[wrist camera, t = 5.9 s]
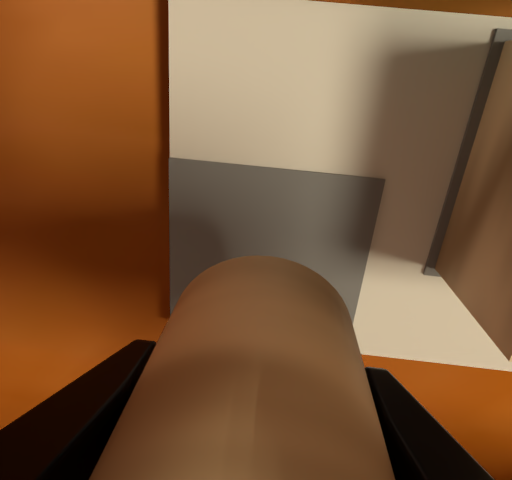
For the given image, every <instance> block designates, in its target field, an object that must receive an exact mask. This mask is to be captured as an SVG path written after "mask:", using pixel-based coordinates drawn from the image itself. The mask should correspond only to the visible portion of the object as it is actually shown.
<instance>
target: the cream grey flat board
mask: <svg viewBox="0 0 512 480" xmlns="http://www.w3.org/2000/svg"><path fill="white" fill-rule="evenodd" d="M168 6H169V129H170V157H169V245H170V316H171V314H172V312H173V310H174V308H175V306H176V304H177V302H178V300H179V298H180V296H181V294H182V293H183V291H184V290H185V288H186V287H187V286H188V285H189V284H190V282H191V281H192V280H193V279H195V278H196V277H197V276H198V275H199V274H200V273H202V272H204V271H205V270H207V269H208V268H210V267H212V266H214V265H216V264H218V263H220V262H223V261H226V260H230V259H233V258H238V257H243V256H256V255H258V256H273V257H278V258H284V259H287V260H290V261H294V262H297V263H299V264H301V265H304V266H306V267H308V268H310V269H311V270H313V271H315V272H316V273H318V274H319V275H321V276H322V277H323V278H324V279H326V280H327V281H328V282H329V283H330V284H331V285H332V286H333V287H334V288H335V289H336V290H337V292H338V293H339V295H340V296H341V297H342V299H343V301H344V302H345V304H346V306H347V308H348V311H349V314H350V317H351V320H352V324H353V328H354V331H355V335H356V339H357V342H358V346H359V349H360V353H361V354H365V355H374V356H383V357H391V358H400V359H408V360H417V361H426V362H434V363H443V364H452V365H460V366H469V367H477V368H486V369H495V370H503V371H512V362H509V361H508V360H507V358H506V357H505V356H504V355H503V353H502V352H501V351H500V350H499V348H498V347H497V346H496V345H495V343H494V342H493V341H492V340H491V338H490V337H489V336H488V335H487V333H486V332H485V331H484V330H483V328H482V327H481V326H480V325H479V323H478V322H477V321H476V320H475V318H474V317H473V316H472V315H471V313H470V312H469V311H468V310H467V308H466V307H465V306H464V305H463V303H462V302H461V301H460V300H459V298H458V297H457V296H456V295H455V293H454V292H453V291H452V290H451V288H450V287H449V286H448V285H447V283H446V282H445V281H444V280H443V278H442V277H441V276H440V275H439V273H438V272H437V271H436V270H435V266H436V263H437V259H438V256H439V253H440V250H441V247H442V243H443V240H444V237H445V234H446V230H447V227H448V224H449V221H450V217H451V214H452V211H453V208H454V205H455V201H456V198H457V195H458V192H459V188H460V185H461V182H462V179H463V175H464V172H465V169H466V166H467V163H468V159H469V156H470V153H471V150H472V146H473V143H474V140H475V137H476V133H477V130H478V127H479V124H480V121H481V117H482V114H483V111H484V108H485V104H486V101H487V98H488V95H489V91H490V88H491V85H492V82H493V79H494V75H495V72H496V69H497V66H498V62H499V59H500V56H501V53H502V49H503V46H504V43H505V41H510V40H512V18H511V17H499V16H487V15H476V14H464V13H452V12H440V11H428V10H416V9H404V8H392V7H380V6H368V5H356V4H344V3H332V2H320V1H308V0H168Z"/></svg>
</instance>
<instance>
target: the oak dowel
mask: <svg viewBox="0 0 512 480" xmlns="http://www.w3.org/2000/svg"><path fill="white" fill-rule="evenodd" d="M89 480H395V477H394V473H393V469H392V466H391V462H390V458H389V455H388V451H387V448H386V444H385V440H384V437H383V433H382V429H381V426H380V422H379V418H378V415H377V411H376V408H375V404H374V400H373V397H372V393H371V389H370V386H369V382H368V379H367V375H366V371H365V368H364V364H363V360H362V357H361V353H360V349H359V346H358V342H357V339H356V335H355V331H354V328H353V324H352V320H351V317H350V314H349V311H348V308H347V306H346V304H345V302H344V301H343V299H342V297H341V296H340V295H339V293H338V292H337V290H336V289H335V288H334V287H333V286H332V285H331V284H330V283H329V282H328V281H327V280H326V279H324V278H323V277H322V276H321V275H319V274H318V273H316V272H315V271H313V270H311V269H310V268H308V267H306V266H304V265H301V264H299V263H297V262H294V261H290V260H287V259H284V258H278V257H273V256H258V255H256V256H243V257H238V258H233V259H230V260H226V261H223V262H220V263H218V264H216V265H214V266H212V267H210V268H208V269H207V270H205V271H204V272H202V273H200V274H199V275H198V276H197V277H196V278H195V279H193V280H192V281H191V282H190V284H189V285H188V286H187V287H186V288H185V290H184V291H183V293H182V294H181V296H180V298H179V300H178V302H177V304H176V306H175V308H174V310H173V312H172V314H171V316H170V318H169V320H168V322H167V324H166V326H165V328H164V330H163V332H162V334H161V336H160V338H159V340H158V342H157V344H156V346H155V348H154V350H153V352H152V354H151V356H150V358H149V360H148V362H147V364H146V366H145V368H144V370H143V372H142V374H141V376H140V378H139V380H138V382H137V384H136V386H135V388H134V390H133V392H132V394H131V396H130V398H129V400H128V402H127V404H126V406H125V408H124V410H123V412H122V414H121V416H120V418H119V420H118V422H117V424H116V426H115V428H114V430H113V432H112V434H111V436H110V438H109V440H108V442H107V444H106V446H105V448H104V450H103V452H102V454H101V456H100V458H99V460H98V462H97V464H96V466H95V468H94V470H93V472H92V474H91V476H90V478H89Z"/></svg>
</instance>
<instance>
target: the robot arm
mask: <svg viewBox="0 0 512 480" xmlns="http://www.w3.org/2000/svg"><path fill="white" fill-rule="evenodd" d="M156 344H157V343H156V342H154V341H147V340H135V341H133V342H131V343H130V344H128V345H127V346H125V347H124V348H122V349H121V350H119V351H118V352H116V353H115V354H113V355H112V356H110V357H109V358H107V359H106V360H104V361H103V362H101V363H100V364H98V365H97V366H95V367H94V368H92V369H91V370H89V371H88V372H86V373H85V374H83V375H82V376H80V377H79V378H77V379H76V380H74V381H73V382H71V383H70V384H68V385H67V386H65V387H64V388H62V389H61V390H59V391H58V392H56V393H55V394H53V395H52V396H50V397H49V398H47V399H46V400H44V401H43V402H42V403H40V404H39V405H37V406H36V407H34V408H33V409H31V410H30V411H28V412H27V413H25V414H24V415H22V416H21V417H19V418H18V419H16V420H15V421H13V422H12V423H10V424H9V425H7V426H6V427H4V428H3V429H1V430H0V480H89V478H90V476H91V474H92V472H93V470H94V468H95V466H96V464H97V462H98V460H99V458H100V456H101V454H102V452H103V450H104V448H105V446H106V444H107V442H108V440H109V438H110V436H111V434H112V432H113V430H114V428H115V426H116V424H117V422H118V420H119V418H120V416H121V414H122V412H123V410H124V408H125V406H126V404H127V402H128V400H129V398H130V396H131V394H132V392H133V390H134V388H135V386H136V384H137V382H138V380H139V378H140V376H141V374H142V372H143V370H144V368H145V366H146V364H147V362H148V360H149V358H150V356H151V354H152V352H153V350H154V348H155V346H156ZM365 371H366V375H367V379H368V382H369V386H370V389H371V393H372V397H373V400H374V404H375V408H376V411H377V415H378V418H379V422H380V426H381V429H382V433H383V437H384V440H385V444H386V448H387V451H388V455H389V458H390V462H391V466H392V469H393V473H394V477H395V480H495V479H494V478H493V477H492V476H491V475H490V474H489V473H488V472H487V471H486V470H485V469H484V468H483V467H482V466H481V465H480V464H479V463H478V462H477V461H476V460H475V459H474V458H473V457H472V456H471V455H470V454H469V453H468V452H467V451H466V450H465V449H464V448H463V447H462V446H461V445H460V444H459V443H458V442H457V441H456V440H455V439H454V438H453V437H452V436H451V434H450V433H449V432H448V431H447V430H446V429H445V428H444V427H443V426H442V425H441V424H440V423H439V422H438V421H437V420H436V419H435V418H434V417H433V416H432V415H431V414H430V413H429V412H428V411H427V410H426V409H425V408H424V407H423V406H422V405H421V404H420V403H419V402H418V401H417V400H416V399H415V398H414V397H413V396H412V395H411V394H410V393H409V392H408V391H407V390H406V389H405V388H404V387H403V385H402V384H401V383H400V382H399V381H398V380H397V379H396V378H395V377H394V376H393V375H392V374H391V373H390V372H389V371H387V370H386V369H383V368H374V367H366V368H365Z"/></svg>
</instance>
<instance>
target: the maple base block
mask: <svg viewBox="0 0 512 480" xmlns="http://www.w3.org/2000/svg"><path fill="white" fill-rule="evenodd" d="M435 270H436V271H437V272H438V273H439V275H440V276H441V277H442V278H443V280H444V281H445V282H446V283H447V285H448V286H449V287H450V288H451V290H452V291H453V292H454V293H455V295H456V296H457V297H458V298H459V300H460V301H461V302H462V303H463V305H464V306H465V307H466V308H467V310H468V311H469V312H470V313H471V315H472V316H473V317H474V318H475V320H476V321H477V322H478V323H479V325H480V326H481V327H482V328H483V330H484V331H485V332H486V333H487V335H488V336H489V337H490V338H491V340H492V341H493V342H494V343H495V345H496V346H497V347H498V348H499V350H500V351H501V352H502V353H503V355H504V356H505V357H506V358H507V360H508V361H509V362H512V40H510V41H505V43H504V46H503V49H502V53H501V56H500V59H499V62H498V66H497V69H496V72H495V75H494V79H493V82H492V85H491V88H490V91H489V95H488V98H487V101H486V104H485V108H484V111H483V114H482V117H481V121H480V124H479V127H478V130H477V133H476V137H475V140H474V143H473V146H472V150H471V153H470V156H469V159H468V163H467V166H466V169H465V172H464V175H463V179H462V182H461V185H460V188H459V192H458V195H457V198H456V201H455V205H454V208H453V211H452V214H451V217H450V221H449V224H448V227H447V230H446V234H445V237H444V240H443V243H442V247H441V250H440V253H439V256H438V259H437V263H436V266H435Z"/></svg>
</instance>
